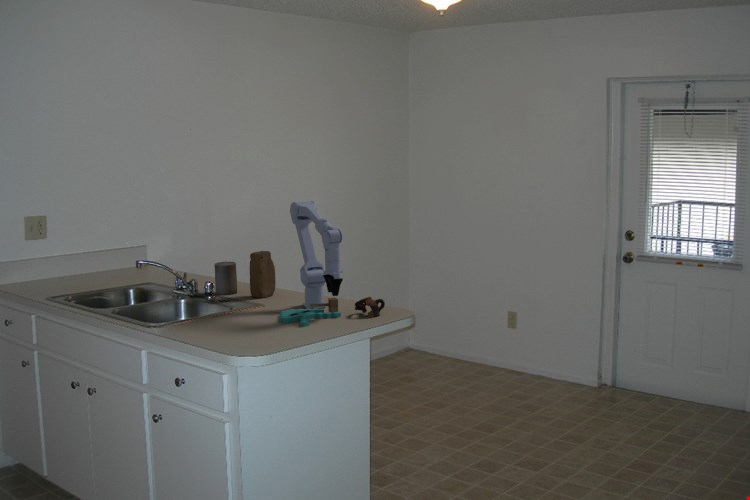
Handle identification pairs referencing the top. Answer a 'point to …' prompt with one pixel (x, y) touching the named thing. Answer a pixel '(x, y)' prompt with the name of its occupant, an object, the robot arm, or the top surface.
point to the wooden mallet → (331, 305)
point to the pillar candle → (225, 278)
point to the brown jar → (262, 274)
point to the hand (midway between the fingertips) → (333, 294)
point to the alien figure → (305, 315)
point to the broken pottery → (372, 303)
